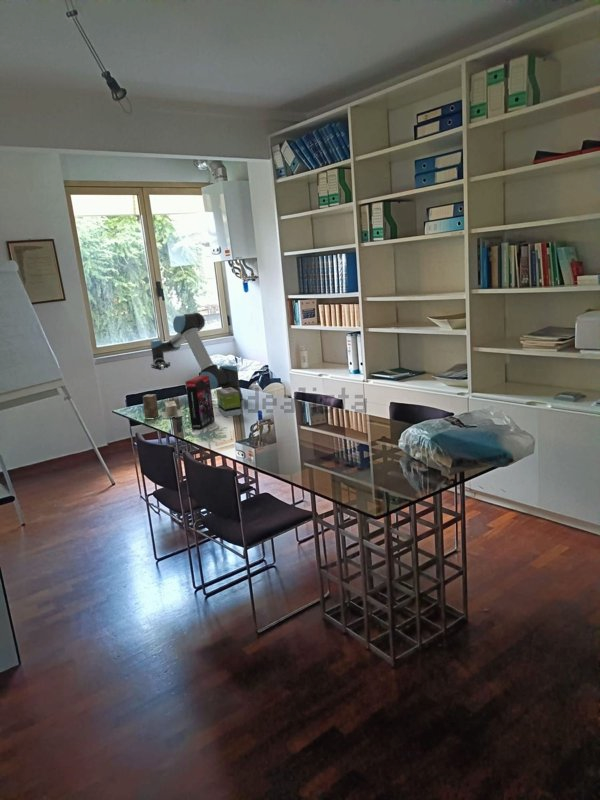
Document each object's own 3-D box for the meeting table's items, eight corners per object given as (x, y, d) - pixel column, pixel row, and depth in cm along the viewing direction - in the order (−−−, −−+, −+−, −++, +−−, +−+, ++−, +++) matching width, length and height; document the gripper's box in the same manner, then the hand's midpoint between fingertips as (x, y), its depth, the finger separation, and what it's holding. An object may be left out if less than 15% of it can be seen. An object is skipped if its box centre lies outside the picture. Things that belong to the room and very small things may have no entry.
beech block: (174, 400, 368) (176, 405, 353) (175, 409, 369) (177, 415, 354) (164, 401, 366) (166, 407, 351) (165, 411, 368) (167, 416, 353)
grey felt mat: (180, 410, 369) (180, 409, 369) (183, 416, 352) (183, 415, 352) (160, 412, 366) (160, 412, 366) (163, 419, 349) (163, 418, 349)
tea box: (218, 412, 356) (215, 389, 352) (233, 410, 360) (231, 386, 356) (225, 417, 342) (223, 393, 339) (242, 414, 346) (239, 390, 343)
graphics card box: (201, 430, 319) (196, 381, 313) (190, 429, 321) (184, 381, 315) (215, 421, 335) (210, 375, 329) (204, 421, 337) (199, 375, 331)
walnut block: (158, 416, 356) (156, 394, 353) (154, 419, 350) (151, 396, 347) (149, 416, 357) (146, 394, 354) (145, 419, 352) (142, 396, 349)
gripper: (170, 368, 405) (173, 372, 383) (151, 370, 401) (153, 374, 379) (168, 357, 403) (172, 361, 381) (149, 359, 399) (151, 363, 377)
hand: (162, 367), depth 380 cm, fingers closed
